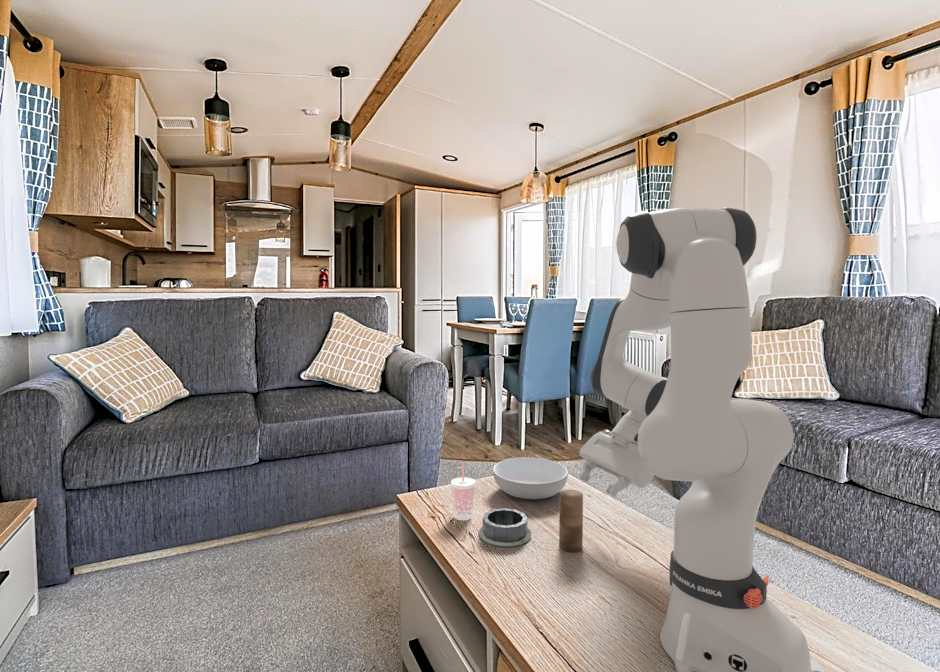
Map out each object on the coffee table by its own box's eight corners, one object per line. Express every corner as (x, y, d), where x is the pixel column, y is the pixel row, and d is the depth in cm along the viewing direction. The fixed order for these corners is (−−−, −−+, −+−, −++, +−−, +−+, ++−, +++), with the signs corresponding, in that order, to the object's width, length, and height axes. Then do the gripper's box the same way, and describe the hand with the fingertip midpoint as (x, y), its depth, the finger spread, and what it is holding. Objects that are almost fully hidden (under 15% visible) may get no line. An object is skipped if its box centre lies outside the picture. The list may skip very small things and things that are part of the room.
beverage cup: (480, 518, 128) (480, 463, 127) (459, 523, 125) (458, 467, 123) (467, 509, 133) (467, 456, 132) (446, 514, 130) (446, 460, 129)
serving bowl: (483, 502, 137) (483, 477, 137) (503, 476, 157) (503, 454, 157) (562, 512, 131) (562, 486, 130) (572, 483, 151) (572, 461, 150)
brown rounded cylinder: (586, 546, 113) (587, 493, 112) (573, 554, 109) (574, 500, 109) (567, 539, 116) (568, 487, 116) (554, 546, 113) (555, 493, 112)
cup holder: (541, 534, 119) (541, 517, 118) (507, 553, 110) (507, 534, 110) (503, 518, 127) (503, 502, 127) (468, 534, 119) (468, 517, 119)
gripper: (594, 420, 126) (561, 464, 123) (656, 442, 108) (618, 495, 104) (609, 436, 128) (576, 479, 125) (671, 460, 110) (634, 512, 107)
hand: (595, 487), depth 115 cm, fingers open, 8 cm apart
